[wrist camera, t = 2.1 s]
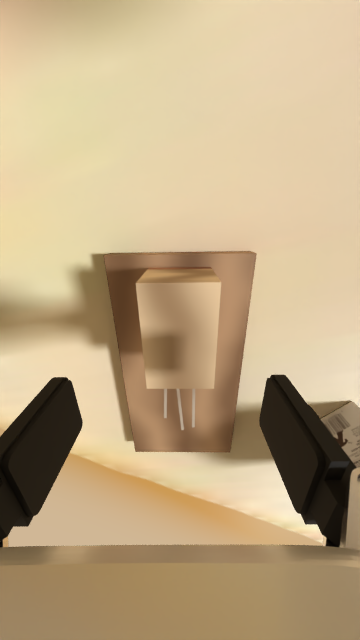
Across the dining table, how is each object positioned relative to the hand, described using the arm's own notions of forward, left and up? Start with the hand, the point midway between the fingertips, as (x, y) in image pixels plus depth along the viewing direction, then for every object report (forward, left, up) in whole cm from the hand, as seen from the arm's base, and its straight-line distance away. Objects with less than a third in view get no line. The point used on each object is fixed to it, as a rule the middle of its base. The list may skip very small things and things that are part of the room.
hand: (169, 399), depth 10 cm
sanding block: (0, -1, -9) cm, 9 cm away
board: (0, +6, -11) cm, 13 cm away
